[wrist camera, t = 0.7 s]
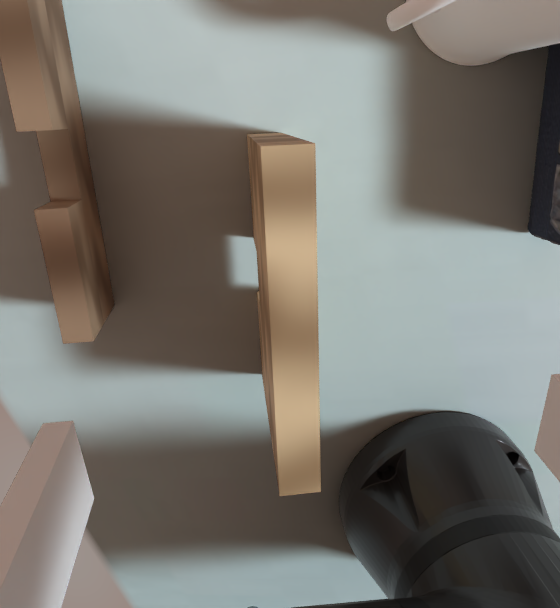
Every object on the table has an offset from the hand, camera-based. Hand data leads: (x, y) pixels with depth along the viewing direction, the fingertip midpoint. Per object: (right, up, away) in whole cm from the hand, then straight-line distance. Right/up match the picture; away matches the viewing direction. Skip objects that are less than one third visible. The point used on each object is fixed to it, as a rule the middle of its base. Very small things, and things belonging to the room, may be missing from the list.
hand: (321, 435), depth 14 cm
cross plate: (-2, +6, +18) cm, 19 cm away
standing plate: (-13, +12, +15) cm, 23 cm away
